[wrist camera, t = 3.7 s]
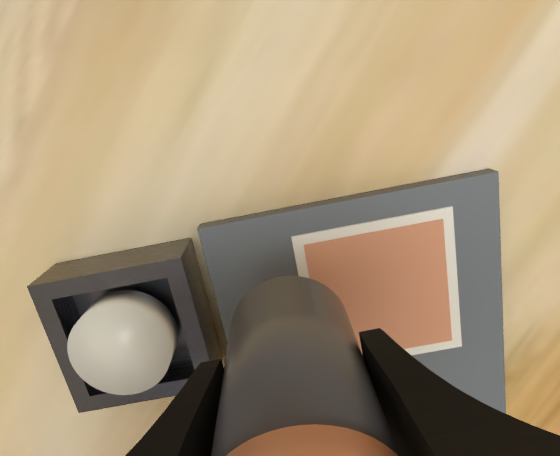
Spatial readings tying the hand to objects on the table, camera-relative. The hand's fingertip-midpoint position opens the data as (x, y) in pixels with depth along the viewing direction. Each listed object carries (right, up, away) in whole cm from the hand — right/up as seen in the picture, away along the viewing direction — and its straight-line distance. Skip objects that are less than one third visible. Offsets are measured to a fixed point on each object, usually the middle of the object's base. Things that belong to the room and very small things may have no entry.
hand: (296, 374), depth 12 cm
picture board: (+4, -1, +10) cm, 11 cm away
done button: (-7, -1, +8) cm, 11 cm away
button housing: (-8, 0, +9) cm, 12 cm away
